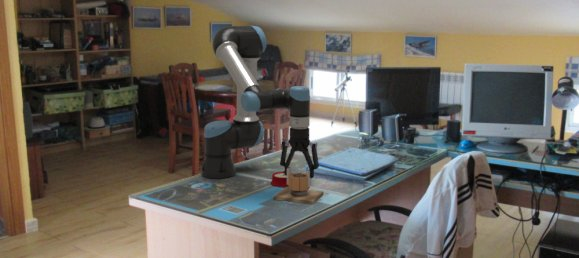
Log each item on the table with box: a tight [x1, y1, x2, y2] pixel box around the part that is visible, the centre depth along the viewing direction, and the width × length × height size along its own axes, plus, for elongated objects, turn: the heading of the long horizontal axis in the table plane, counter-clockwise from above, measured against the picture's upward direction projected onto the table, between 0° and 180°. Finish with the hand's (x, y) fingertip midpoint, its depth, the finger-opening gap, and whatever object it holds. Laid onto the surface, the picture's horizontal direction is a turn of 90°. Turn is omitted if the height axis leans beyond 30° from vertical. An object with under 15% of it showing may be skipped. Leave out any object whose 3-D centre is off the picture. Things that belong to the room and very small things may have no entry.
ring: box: [289, 172, 311, 191], centre depth 223 cm, size 8×8×5 cm
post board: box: [273, 172, 325, 205], centre depth 224 cm, size 16×13×9 cm
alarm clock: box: [267, 170, 292, 188], centre depth 243 cm, size 10×6×15 cm
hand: (299, 184), depth 224 cm, fingers closed on ring, 8 cm apart
